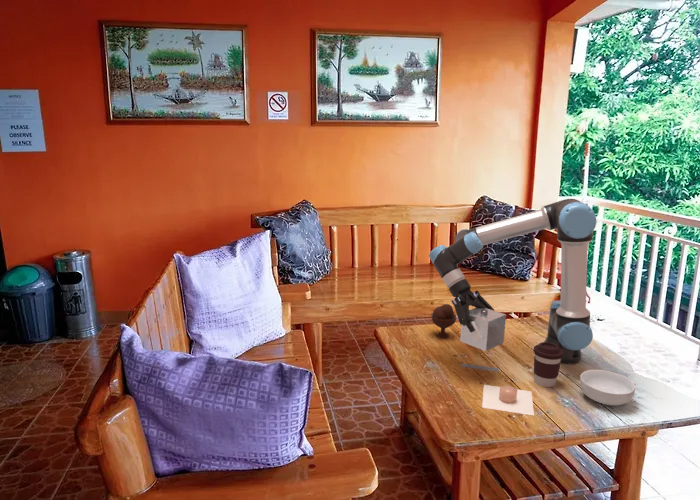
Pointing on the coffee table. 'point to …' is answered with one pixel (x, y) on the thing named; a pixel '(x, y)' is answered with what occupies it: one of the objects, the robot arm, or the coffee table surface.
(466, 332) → the metal cover
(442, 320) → the ice cream bowl
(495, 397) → the serving board
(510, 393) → the pink domed cylinder
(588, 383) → the cereal bowl
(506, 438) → the coffee table surface
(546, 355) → the coffee cup
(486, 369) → the rubber mat
